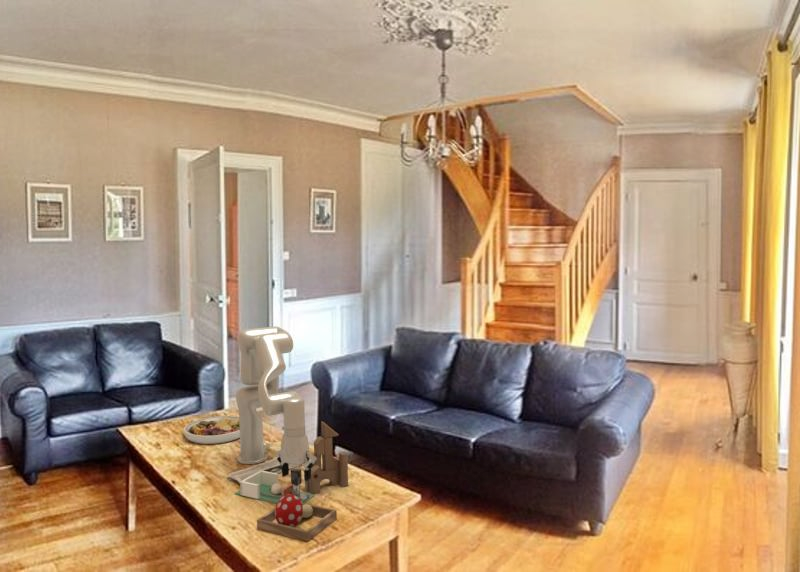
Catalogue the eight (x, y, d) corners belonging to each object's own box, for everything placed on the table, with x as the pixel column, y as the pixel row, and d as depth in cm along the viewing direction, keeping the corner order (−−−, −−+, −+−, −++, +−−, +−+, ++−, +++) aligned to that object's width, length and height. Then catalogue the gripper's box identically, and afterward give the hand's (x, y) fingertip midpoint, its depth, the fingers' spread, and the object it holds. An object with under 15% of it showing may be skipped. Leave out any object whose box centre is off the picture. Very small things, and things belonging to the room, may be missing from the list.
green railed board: (254, 482, 243) (254, 481, 243) (314, 495, 231) (314, 494, 231) (235, 494, 233) (234, 492, 233) (297, 508, 221) (297, 507, 221)
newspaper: (241, 488, 239) (240, 479, 239) (224, 479, 248) (223, 471, 248) (314, 462, 264) (314, 454, 264) (297, 455, 273) (296, 447, 273)
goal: (261, 482, 242) (260, 470, 242) (278, 486, 239) (277, 473, 238) (240, 494, 232) (239, 481, 231) (257, 498, 228) (257, 485, 228)
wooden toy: (311, 495, 232) (309, 429, 229) (304, 488, 237) (303, 424, 235) (349, 485, 239) (348, 421, 237) (342, 479, 245) (340, 417, 243)
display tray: (288, 507, 221) (288, 499, 221) (336, 518, 213) (336, 510, 212) (257, 528, 206) (256, 520, 206) (307, 541, 197) (307, 532, 197)
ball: (275, 491, 234) (275, 480, 234) (284, 493, 233) (284, 482, 232) (269, 495, 231) (268, 485, 230) (277, 497, 229) (277, 486, 229)
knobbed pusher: (290, 492, 232) (289, 466, 231) (309, 496, 229) (308, 469, 228) (281, 498, 227) (280, 471, 226) (300, 502, 224) (299, 475, 223)
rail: (270, 488, 237) (270, 486, 236) (310, 497, 229) (310, 495, 228) (260, 495, 231) (260, 493, 231) (301, 504, 223) (301, 501, 223)
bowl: (185, 429, 310) (184, 413, 309) (247, 422, 319) (246, 407, 318) (183, 450, 281) (182, 432, 281) (252, 442, 290) (251, 425, 290)
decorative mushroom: (312, 487, 218) (282, 486, 206) (328, 512, 212) (298, 513, 200) (293, 509, 220) (262, 510, 208) (309, 535, 213) (278, 537, 201)
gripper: (268, 431, 226) (270, 477, 227) (308, 437, 218) (310, 485, 219) (281, 425, 232) (283, 470, 234) (320, 431, 225) (322, 477, 226)
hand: (296, 477), depth 227 cm, fingers open, 9 cm apart
